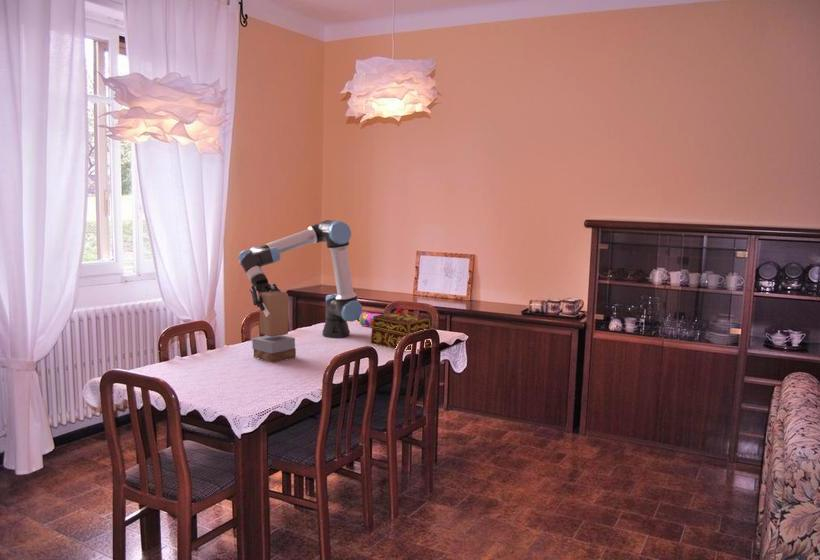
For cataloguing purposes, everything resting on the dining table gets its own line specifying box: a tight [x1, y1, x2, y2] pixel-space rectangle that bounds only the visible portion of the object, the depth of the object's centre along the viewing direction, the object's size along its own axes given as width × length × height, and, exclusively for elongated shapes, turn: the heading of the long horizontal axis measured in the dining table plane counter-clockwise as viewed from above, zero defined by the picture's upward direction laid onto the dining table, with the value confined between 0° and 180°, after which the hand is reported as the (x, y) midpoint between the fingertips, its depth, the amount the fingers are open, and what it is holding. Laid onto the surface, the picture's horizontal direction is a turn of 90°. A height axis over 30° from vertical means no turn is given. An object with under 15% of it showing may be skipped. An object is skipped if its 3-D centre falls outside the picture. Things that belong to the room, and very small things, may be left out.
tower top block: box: [251, 335, 296, 353], centre depth 313 cm, size 14×14×5 cm
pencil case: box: [356, 310, 383, 328], centre depth 390 cm, size 22×9×9 cm, turn 50°
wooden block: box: [259, 290, 289, 337], centre depth 311 cm, size 10×10×20 cm
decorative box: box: [369, 312, 432, 350], centre depth 345 cm, size 28×19×15 cm
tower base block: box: [253, 347, 297, 363], centre depth 314 cm, size 14×14×5 cm
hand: (277, 314), depth 309 cm, fingers closed on wooden block, 10 cm apart
